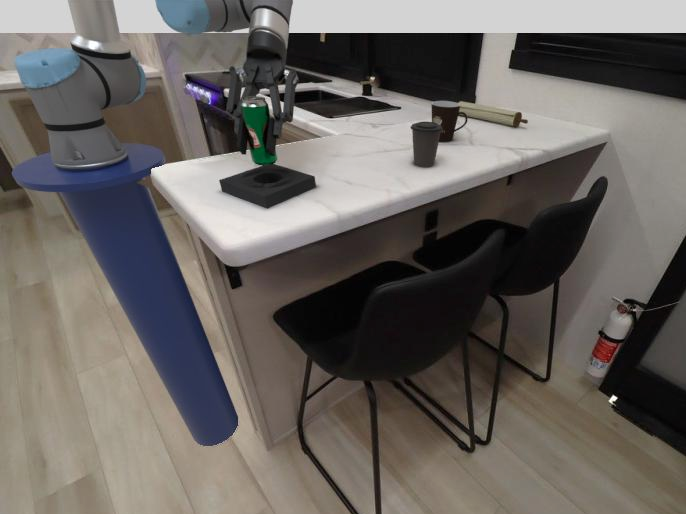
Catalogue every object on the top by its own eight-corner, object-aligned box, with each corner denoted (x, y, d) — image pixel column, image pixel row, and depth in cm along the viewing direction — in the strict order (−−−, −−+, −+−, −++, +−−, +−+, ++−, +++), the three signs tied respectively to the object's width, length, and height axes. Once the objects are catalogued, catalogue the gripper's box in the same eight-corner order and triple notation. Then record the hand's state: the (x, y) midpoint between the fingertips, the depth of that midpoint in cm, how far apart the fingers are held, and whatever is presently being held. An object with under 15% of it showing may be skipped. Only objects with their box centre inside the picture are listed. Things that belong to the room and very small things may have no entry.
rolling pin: (529, 128, 133) (533, 112, 130) (522, 131, 129) (525, 115, 126) (454, 112, 149) (455, 98, 146) (446, 114, 146) (447, 99, 142)
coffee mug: (424, 136, 120) (426, 101, 113) (447, 134, 123) (451, 100, 116) (441, 147, 111) (445, 110, 105) (466, 144, 114) (471, 108, 108)
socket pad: (221, 191, 81) (218, 179, 79) (272, 173, 90) (270, 162, 88) (267, 208, 75) (264, 196, 73) (316, 187, 84) (314, 176, 83)
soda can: (248, 161, 79) (234, 97, 71) (270, 156, 82) (259, 94, 74) (259, 168, 76) (246, 102, 69) (282, 163, 79) (271, 99, 71)
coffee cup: (445, 164, 99) (450, 124, 93) (424, 171, 95) (428, 129, 88) (423, 156, 104) (426, 117, 97) (402, 163, 99) (403, 122, 93)
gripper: (316, 59, 80) (306, 163, 77) (232, 56, 81) (219, 158, 78) (307, 30, 73) (295, 143, 70) (214, 26, 73) (199, 139, 70)
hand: (255, 151), depth 74 cm, fingers closed on soda can, 5 cm apart
